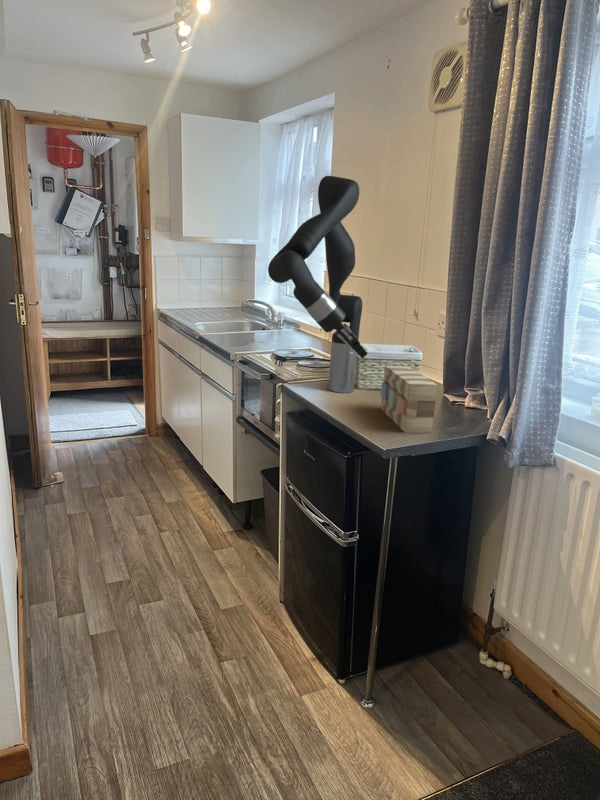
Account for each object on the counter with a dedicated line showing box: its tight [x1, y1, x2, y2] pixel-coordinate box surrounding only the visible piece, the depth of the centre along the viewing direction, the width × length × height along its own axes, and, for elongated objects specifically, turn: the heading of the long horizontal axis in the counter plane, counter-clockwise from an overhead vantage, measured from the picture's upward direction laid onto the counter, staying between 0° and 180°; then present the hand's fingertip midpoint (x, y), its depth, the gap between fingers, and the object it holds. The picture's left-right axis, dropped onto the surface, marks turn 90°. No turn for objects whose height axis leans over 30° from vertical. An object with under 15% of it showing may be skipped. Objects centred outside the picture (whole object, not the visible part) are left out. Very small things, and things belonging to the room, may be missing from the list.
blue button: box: [380, 383, 390, 398], centre depth 182 cm, size 4×3×4 cm
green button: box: [388, 389, 398, 406], centre depth 174 cm, size 4×3×4 cm
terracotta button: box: [396, 396, 406, 414], centre depth 167 cm, size 4×3×4 cm
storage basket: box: [355, 342, 424, 391], centre depth 216 cm, size 24×16×15 cm
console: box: [380, 366, 438, 434], centre depth 175 cm, size 24×8×14 cm, turn 8°
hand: (364, 355), depth 167 cm, fingers closed
